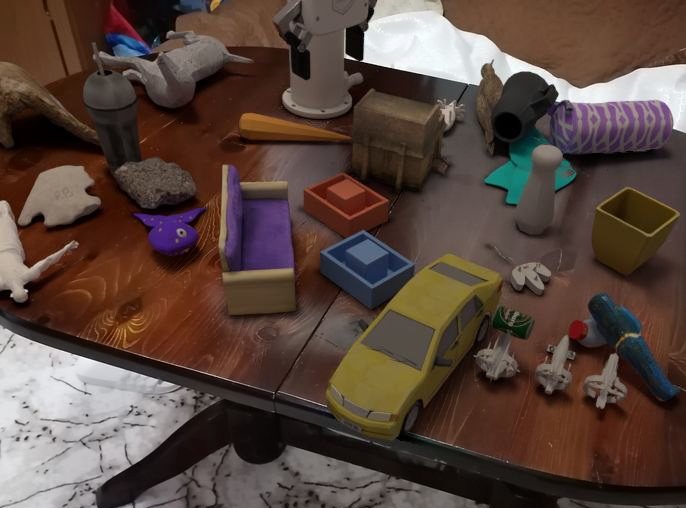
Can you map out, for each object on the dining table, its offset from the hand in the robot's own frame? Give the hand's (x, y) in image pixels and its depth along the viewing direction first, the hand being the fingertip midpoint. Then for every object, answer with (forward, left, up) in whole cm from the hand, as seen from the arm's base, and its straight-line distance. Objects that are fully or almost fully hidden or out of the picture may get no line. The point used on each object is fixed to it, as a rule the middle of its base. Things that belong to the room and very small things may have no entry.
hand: (328, 66), depth 100 cm
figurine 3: (0, +61, -18) cm, 64 cm away
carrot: (-5, -13, -20) cm, 24 cm away
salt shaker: (-16, +28, -19) cm, 37 cm away
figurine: (+43, -20, -16) cm, 50 cm away
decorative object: (+35, -14, -18) cm, 42 cm away
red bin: (+3, +8, -19) cm, 21 cm away
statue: (-1, -49, -12) cm, 50 cm away
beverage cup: (+22, -22, -19) cm, 36 cm away
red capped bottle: (-6, +50, -17) cm, 53 cm away
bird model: (-40, +3, -18) cm, 44 cm away
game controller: (-6, +33, -19) cm, 39 cm away
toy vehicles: (+7, +48, -19) cm, 52 cm away
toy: (+27, -3, -19) cm, 33 cm away
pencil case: (-43, +26, -15) cm, 52 cm away
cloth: (-31, +18, -19) cm, 40 cm away
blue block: (+11, +21, -18) cm, 30 cm away
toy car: (+18, +37, -19) cm, 46 cm away
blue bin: (+11, +21, -19) cm, 30 cm away
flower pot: (-20, +42, -19) cm, 50 cm away
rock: (+22, -38, -21) cm, 49 cm away
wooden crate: (-13, +3, -19) cm, 23 cm away
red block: (+3, +8, -18) cm, 20 cm away
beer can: (+11, +41, -12) cm, 44 cm away
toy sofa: (+20, +10, -19) cm, 29 cm away
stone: (+21, -14, -20) cm, 32 cm away
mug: (-40, +9, -11) cm, 42 cm away
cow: (-27, -1, -14) cm, 31 cm away
